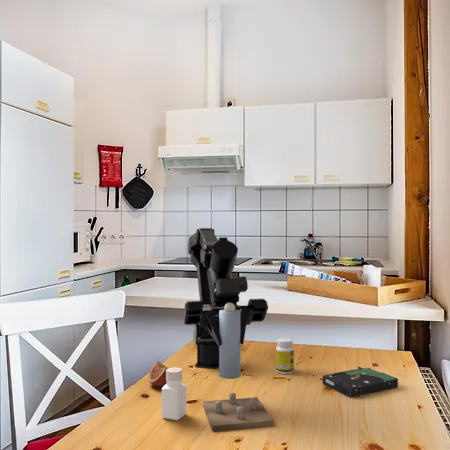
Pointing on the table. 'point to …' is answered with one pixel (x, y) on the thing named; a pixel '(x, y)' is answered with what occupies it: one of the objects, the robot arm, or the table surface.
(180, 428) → the table surface
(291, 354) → the supplement bottle
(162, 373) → the fruit slice
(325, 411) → the table surface
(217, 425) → the brown pegged base plate
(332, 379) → the disk drive
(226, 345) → the pepper mill
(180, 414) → the white plastic bottle
